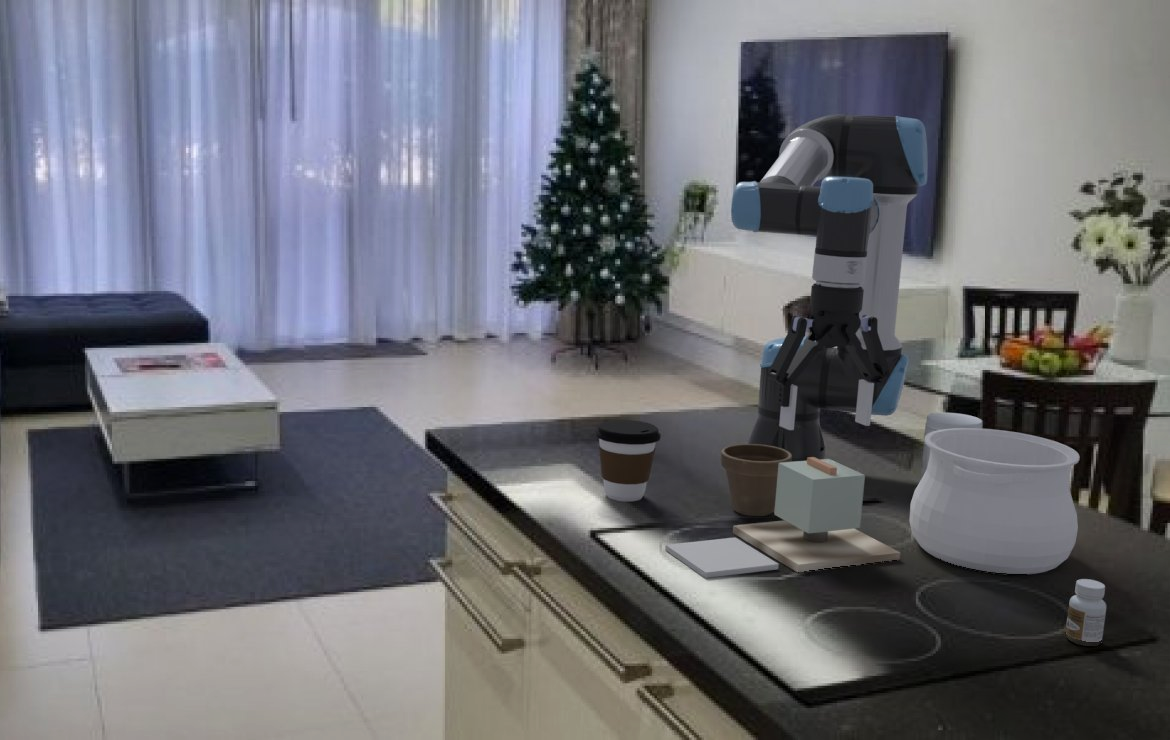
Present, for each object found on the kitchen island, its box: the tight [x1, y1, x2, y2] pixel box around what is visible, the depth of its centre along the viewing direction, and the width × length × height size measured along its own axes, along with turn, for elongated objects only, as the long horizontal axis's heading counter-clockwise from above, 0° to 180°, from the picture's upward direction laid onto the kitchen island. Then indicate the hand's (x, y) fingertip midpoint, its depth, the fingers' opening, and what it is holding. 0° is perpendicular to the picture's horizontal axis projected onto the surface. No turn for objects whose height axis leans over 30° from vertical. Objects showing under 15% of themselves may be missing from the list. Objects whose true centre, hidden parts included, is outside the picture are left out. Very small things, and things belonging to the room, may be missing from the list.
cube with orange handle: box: [773, 457, 866, 533], centre depth 193 cm, size 9×9×9 cm
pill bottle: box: [1065, 578, 1107, 642], centre depth 163 cm, size 4×4×8 cm
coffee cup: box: [594, 419, 661, 503], centre depth 214 cm, size 11×11×12 cm
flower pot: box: [720, 443, 792, 517], centre depth 210 cm, size 12×11×10 cm
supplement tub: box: [919, 412, 983, 482], centre depth 221 cm, size 10×10×15 cm
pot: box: [909, 428, 1081, 575], centre depth 194 cm, size 26×24×17 cm
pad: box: [664, 537, 779, 579], centre depth 187 cm, size 12×12×1 cm
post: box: [732, 520, 901, 573], centre depth 193 cm, size 18×18×11 cm
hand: (825, 426), depth 191 cm, fingers open, 13 cm apart
